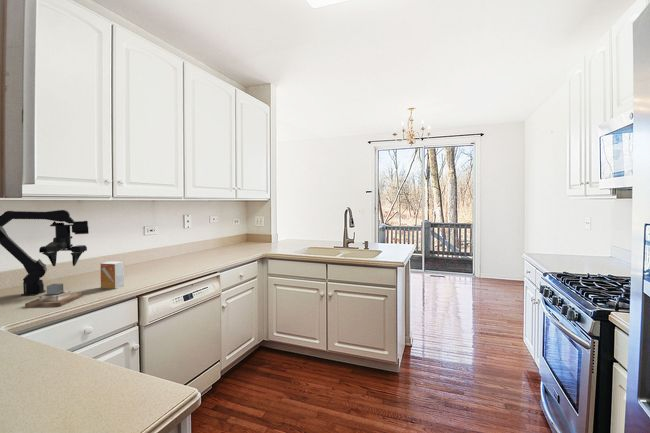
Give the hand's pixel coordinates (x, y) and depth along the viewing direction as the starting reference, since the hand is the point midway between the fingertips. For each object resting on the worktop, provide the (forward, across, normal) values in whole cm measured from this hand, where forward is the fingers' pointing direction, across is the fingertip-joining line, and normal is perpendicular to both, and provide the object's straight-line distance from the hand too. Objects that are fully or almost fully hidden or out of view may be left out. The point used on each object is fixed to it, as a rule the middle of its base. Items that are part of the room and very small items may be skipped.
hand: (64, 265), depth 157 cm
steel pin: (+10, +9, -19) cm, 23 cm away
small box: (+12, +21, +3) cm, 25 cm away
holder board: (+12, +9, -19) cm, 24 cm away
